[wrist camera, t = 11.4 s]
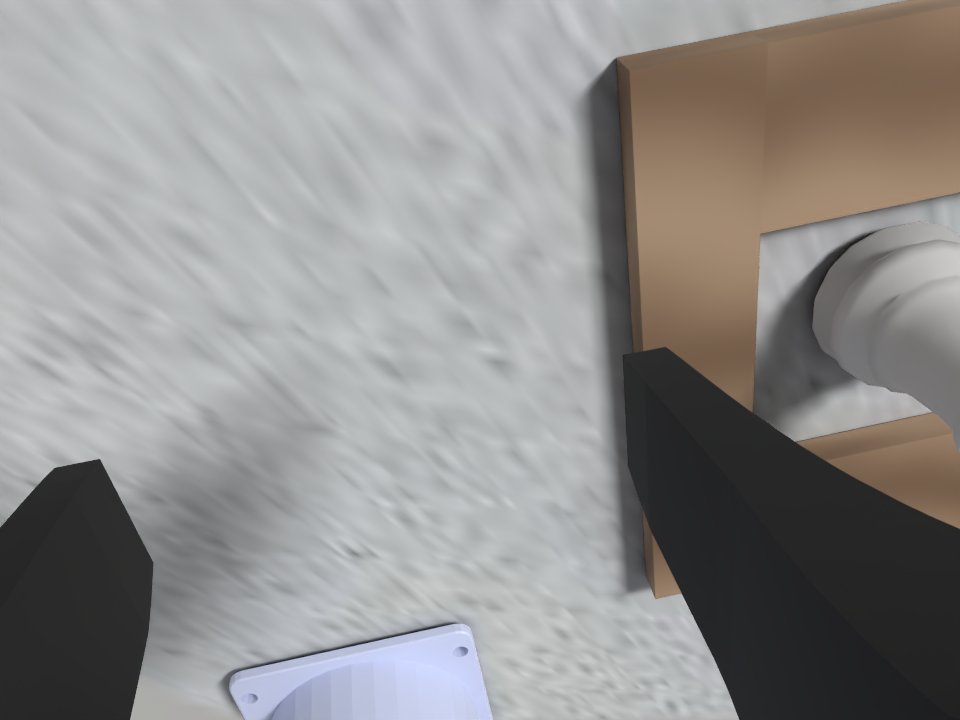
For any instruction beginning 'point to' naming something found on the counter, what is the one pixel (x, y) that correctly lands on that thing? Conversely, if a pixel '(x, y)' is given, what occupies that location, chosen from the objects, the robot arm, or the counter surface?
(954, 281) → the rook chess piece
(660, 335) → the walnut socket board
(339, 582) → the counter surface
